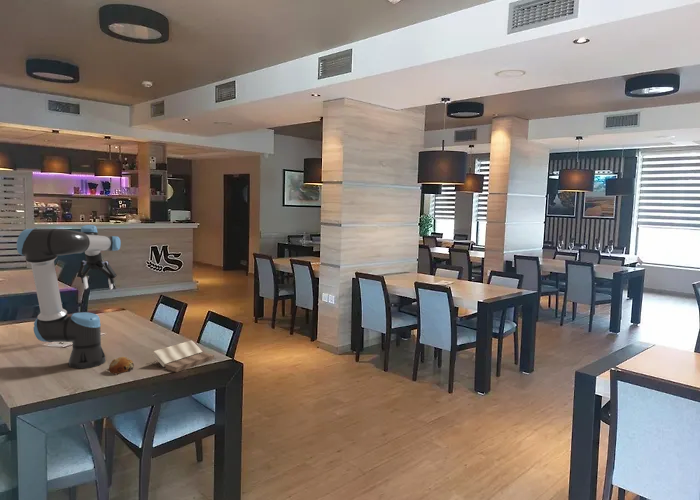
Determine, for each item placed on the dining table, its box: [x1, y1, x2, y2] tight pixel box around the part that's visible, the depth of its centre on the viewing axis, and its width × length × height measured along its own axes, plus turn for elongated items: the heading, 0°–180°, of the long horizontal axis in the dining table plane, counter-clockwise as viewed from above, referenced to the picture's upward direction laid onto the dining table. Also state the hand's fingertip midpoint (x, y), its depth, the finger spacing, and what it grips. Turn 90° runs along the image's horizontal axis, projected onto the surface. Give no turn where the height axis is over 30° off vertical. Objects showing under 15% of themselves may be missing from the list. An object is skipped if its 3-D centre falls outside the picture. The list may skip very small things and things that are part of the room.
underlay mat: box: [146, 357, 216, 374], centre depth 230 cm, size 24×22×1 cm
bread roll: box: [108, 356, 135, 375], centre depth 218 cm, size 10×10×8 cm
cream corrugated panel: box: [152, 340, 203, 368], centre depth 230 cm, size 22×9×2 cm, turn 149°
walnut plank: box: [164, 352, 215, 373], centre depth 226 cm, size 22×8×2 cm, turn 149°
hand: (99, 288), depth 269 cm, fingers open, 13 cm apart
